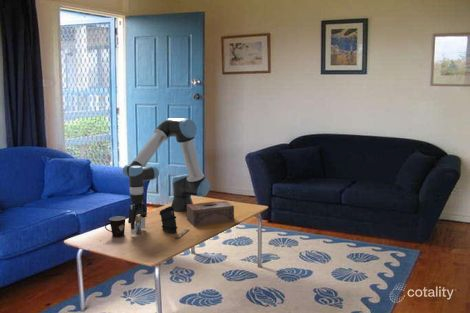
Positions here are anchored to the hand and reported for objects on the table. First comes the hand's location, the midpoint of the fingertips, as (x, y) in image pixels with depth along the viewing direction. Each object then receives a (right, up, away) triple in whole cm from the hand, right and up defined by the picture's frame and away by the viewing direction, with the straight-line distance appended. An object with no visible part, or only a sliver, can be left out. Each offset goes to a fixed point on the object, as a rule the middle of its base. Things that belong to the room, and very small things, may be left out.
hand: (138, 231), depth 271 cm
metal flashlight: (0, -1, 0) cm, 1 cm away
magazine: (+17, 0, +4) cm, 17 cm away
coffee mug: (-12, -2, -5) cm, 13 cm away
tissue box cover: (+40, +3, +23) cm, 46 cm away
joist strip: (+25, -1, -3) cm, 25 cm away
